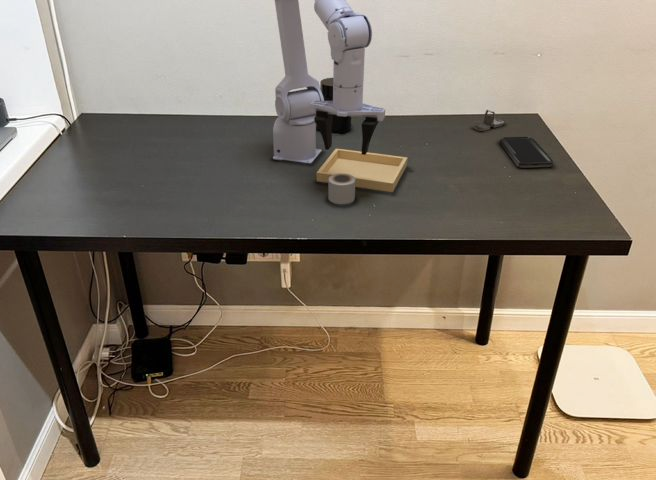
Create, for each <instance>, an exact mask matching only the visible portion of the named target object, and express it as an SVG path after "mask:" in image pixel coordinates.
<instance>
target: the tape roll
mask: <svg viewBox="0 0 656 480" xmlns="http://www.w3.org/2000/svg"><path fill="white" fill-rule="evenodd" d="M327 184H328V188H327V189H328V191H327V194H328V196H327V197H328V198H327V199H328V200H329V202H331V203H333V204H336V205H349V204H351V203H353V202H354V201H355V199H356V187H355V177H354V176H352V175H349V174H344V173H340V174H334V175H332V176H330V177H329V179H328V183H327Z"/></svg>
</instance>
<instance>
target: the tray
mask: <svg viewBox="0 0 656 480" xmlns="http://www.w3.org/2000/svg"><path fill="white" fill-rule="evenodd" d="M407 167H408V157H407V156H399V155H391V154H384V153H377V152H367V153H366V154H365V155H362V151H359V150H352V149H343V148H337V147H336V148H335V149H334V150H333V151H332V153H331V154H330V155H329V157H327V159H326V160H325V161H324V163H323V164H322V165H321V166H320V167H319V169H318V170H317V171H316V182H319V183H327V184H328V179H329V177H330V176H332V175H334V174H340V173H344V174H349V175H352V176H354V177H355V188H359V189H360V188H361V189H365V190H366V189H367V190H373V191H379V192H380V191H381V192H387V193H394V191H395V189H396V187H397V185H398V184H399V181H400V179H401V178H402V176H403V174H404V173H405V170H406V169H407Z"/></svg>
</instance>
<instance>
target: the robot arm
mask: <svg viewBox="0 0 656 480" xmlns="http://www.w3.org/2000/svg"><path fill="white" fill-rule="evenodd" d="M274 5H275V13H276V20H277V26H278V27H277V28H278V35H279V41H280V47H281V55H282V62H283V69H284V75H285V76H284V77H283V78H282V80H281V81H280V82H279V83H278V84H277V85H276V87H275V88H274V90H275V91H274V93H275V100H274V106H275V112H276V115H277V118H276V119H275V121H274V124H273V127H272V137H273V138H272V140H273V141H272V144H273V156H272V160H274V161H282V160H284V161H290V162H291V161H292V162H300V163H304V164H305V163H306V164H312V163H313V162H314V160H315V159H316V158H317V157H318V156H319V154H321V152H322V149H320V148H317V128H316V124H317V126H318V128H319V130H320V131H319V130H318V131H319V132H320V134H321V138H322V141H323V145H324V150H326V151H329V150H330V149H331V147H332V143H333V133H332V120H333V114H335V115H337V116H343V117H346V116H351V118H361V119H364V120H363V121H362V122H361V133H362V135H361V136H362V140H361V141H362V143H361V152H362V155H365V154H366V153H367V152H368V151H369V147H370V142H371V140H372V137H373V134H374V132H375V130H376V128H377V126H378V124H379V122H383V121H384V120H385V118H386V108H384V107H378V106H374V105H370V104H366V103H363V101H364V81H365V80H364V77H365V56H366V55H365V53H366V49H365V48H368V47H369V46H370V44H371V42H372V39H373V28H372V23H371V22H370V20H369V17H368V16H367V15H366V14H364V13H359V12H355V10H353V8H352V7H351V6H350V4H349V3H348V1H347V0H314V4H313V10H314V12H315V14H316V15H317V17H318V19H320V21H321V22H322V24H323V26H324V27H325V29H326V30H327V41H328V45H329V47H330V56H331V57H330V59H331V60H332V61H333V66H332V67H333V70H332V71H333V73H332V75H333V76H332V78H333V101H324V98H323V95H322V92H321V89H320V81H318V79H316V78H314V77H313V76H312V75H310V74H309V70H308V63H307V55H306V48H305V41H304V34H303V27H302V26H303V25H302V19H301V11H300V10H301V9H300V2H299V0H274ZM368 153H369V152H368Z"/></svg>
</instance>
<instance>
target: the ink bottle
mask: <svg viewBox="0 0 656 480" xmlns="http://www.w3.org/2000/svg"><path fill="white" fill-rule="evenodd" d="M319 84H320V89H321V92H322V95H323V98H324V101H333V77H326V78H323V79H321V80H320V81H319ZM351 127H352V116H346V117H343V116H337V115H335V114H333V120H332V134H335V135H337V134H344V133H347V132H348V131H349V130H351ZM316 130H317V131H319V132H320V130H319V128H318V126H317V124H316Z"/></svg>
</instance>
